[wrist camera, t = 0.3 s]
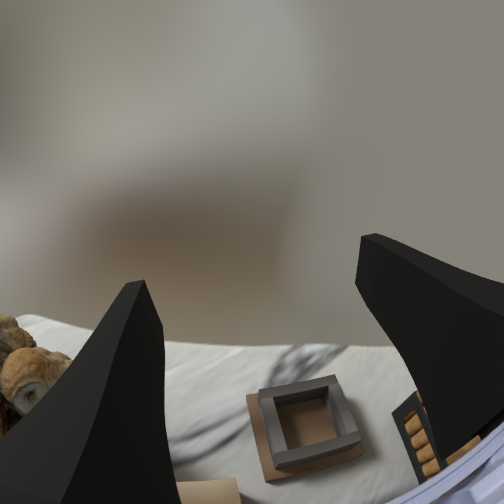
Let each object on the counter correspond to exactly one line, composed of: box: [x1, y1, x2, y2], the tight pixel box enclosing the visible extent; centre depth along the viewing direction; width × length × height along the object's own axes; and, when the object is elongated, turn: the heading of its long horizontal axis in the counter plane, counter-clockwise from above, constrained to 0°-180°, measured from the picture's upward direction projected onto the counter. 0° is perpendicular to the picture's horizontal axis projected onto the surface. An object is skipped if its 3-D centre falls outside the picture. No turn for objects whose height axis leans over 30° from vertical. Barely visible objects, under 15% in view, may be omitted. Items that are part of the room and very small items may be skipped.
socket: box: [246, 374, 364, 482], centre depth 22 cm, size 9×9×4 cm
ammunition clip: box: [392, 390, 481, 485], centre depth 16 cm, size 11×2×12 cm, turn 8°
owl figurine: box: [0, 314, 73, 438], centre depth 14 cm, size 18×12×17 cm, turn 112°
